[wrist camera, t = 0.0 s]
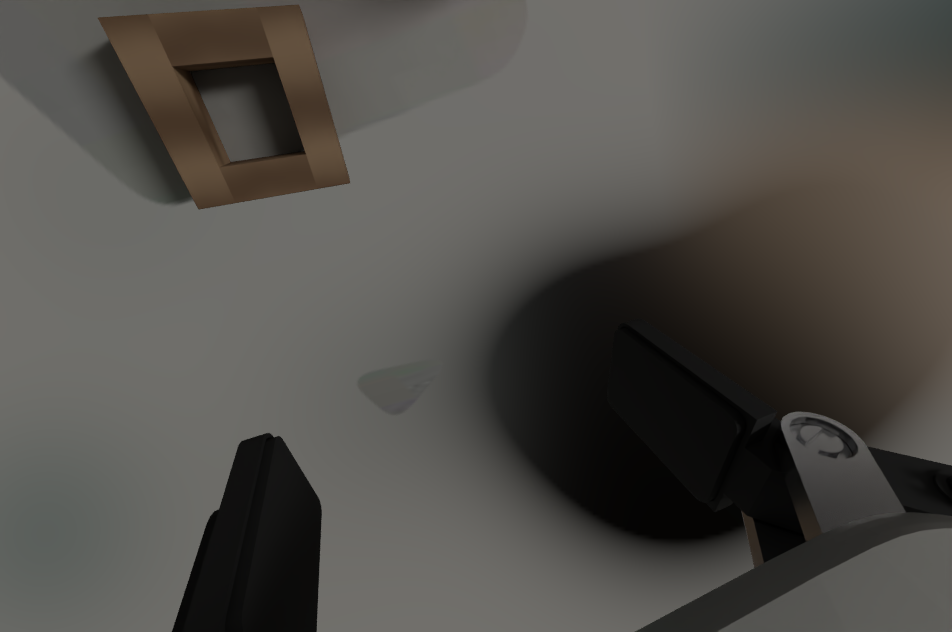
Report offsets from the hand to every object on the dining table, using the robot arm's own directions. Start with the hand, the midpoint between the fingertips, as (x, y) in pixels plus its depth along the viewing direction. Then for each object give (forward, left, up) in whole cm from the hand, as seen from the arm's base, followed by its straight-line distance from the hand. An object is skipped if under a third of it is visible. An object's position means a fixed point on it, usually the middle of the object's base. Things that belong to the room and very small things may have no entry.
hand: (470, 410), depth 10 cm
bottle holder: (-8, -8, -31) cm, 33 cm away
